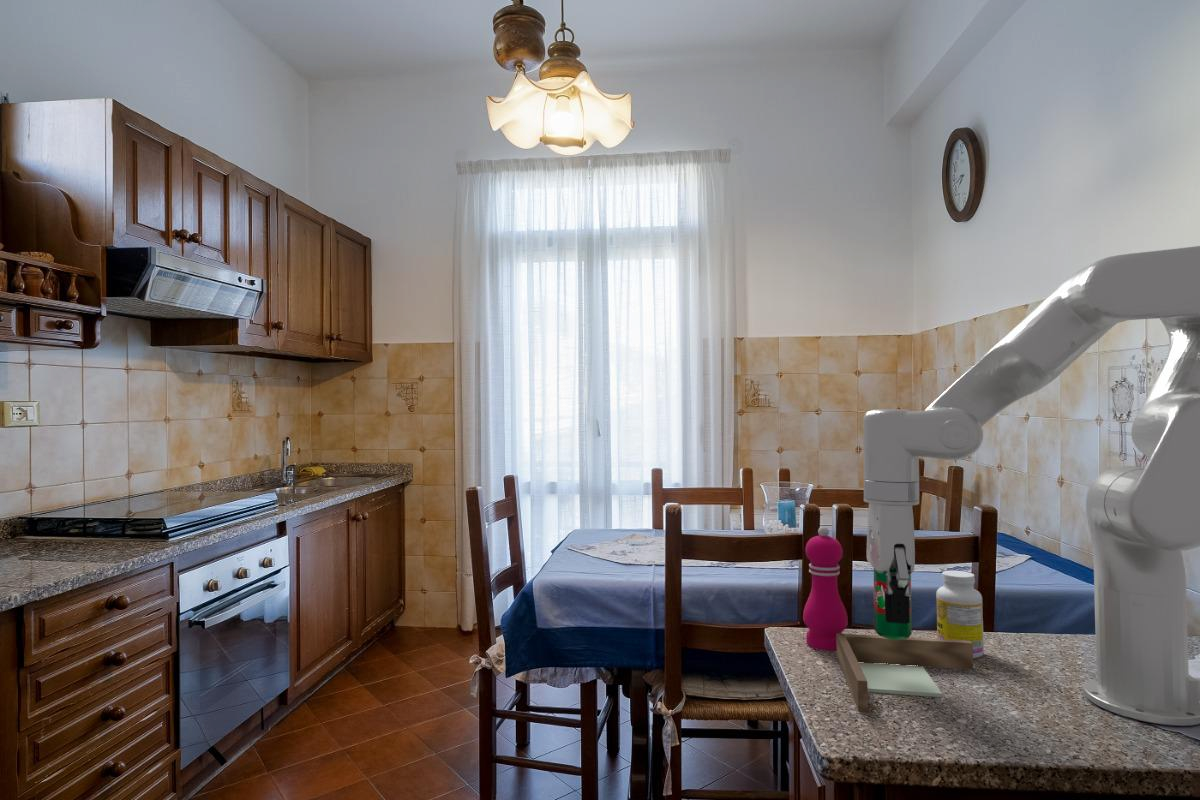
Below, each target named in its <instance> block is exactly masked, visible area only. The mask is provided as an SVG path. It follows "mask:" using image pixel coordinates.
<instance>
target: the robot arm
mask: <svg viewBox="0 0 1200 800" xmlns="http://www.w3.org/2000/svg"><path fill="white" fill-rule="evenodd" d="M1151 319H1155V320H1156V319H1159V320H1160V321H1161V323H1162V324H1163V326H1164V327H1165V329H1166V332H1167V335H1168V340H1169V347H1168V353H1167V354H1166V358H1165V360H1164V362H1163V364H1162V367H1161V369H1160V371H1159V373H1158V376H1157V377H1156V379H1155V381H1154V383H1153V384H1152V386H1151V388H1150V389H1149V391H1148V393H1147V395H1146V396H1145V399H1144V401H1143V403H1142V404H1141V406H1140V408H1139V410H1138V412H1137V413H1136V415H1135V417H1134V419H1133V422H1132V426H1131V429H1130V430H1131V433H1130V434H1131V440H1132V443H1133V444H1134V446H1135V447H1136V449H1137V450H1139V452H1140V453H1141V454H1142V455H1144V456H1146V457H1148V458H1149V459H1148V460H1147V463H1146V465H1145V467H1144V466H1137V465H1136V466H1135V465H1125V466H1118V467H1117V466H1116V467H1114V468H1113V467H1112V468H1109V469H1107V470H1106V471H1104V472H1102V473H1100V474H1099V475H1098V476H1097V477H1095V478H1094V480H1092V482H1091V483H1090V485H1089V487H1088V489H1087V493H1086V497H1085V512H1086V519H1087V523H1088V530H1089V535H1090V539H1091V541H1090V542H1091V546H1092V548H1091V549H1092V557H1093V559H1092V560H1093V580H1094V581H1093V595H1094V622H1095V623H1094V625H1095V654H1096V656H1095V657H1096V658H1095V660H1096V661H1095V663H1096V678H1093V679H1092V678H1091V679H1089V680H1087V681H1085V682H1084V684H1083V685H1082V687H1083V694H1084V697H1085V698H1086V699H1088V701H1090V702H1091V703H1093V704H1094V705H1095V706H1098V707H1100V708H1103V709H1104V710H1106V711H1109V712H1112V713H1113V714H1114V713H1115V714H1116V715H1119V716H1123V717H1126V718H1130V719H1134V720H1136V721H1143V722H1146V723H1151V724H1156V725H1157V724H1158V725H1165V726H1173V727H1175V726H1177V727H1178V726H1180V727H1181V726H1182V727H1185V726H1186V727H1187V726H1195V725H1196V726H1197V725H1200V677H1193V676H1191V675H1190V673H1189V672H1190V671H1189V669H1190V668H1189V645H1188V644H1189V643H1188V640H1189V639H1188V638H1189V637H1188V614H1187V613H1188V608H1187V577H1186V568H1185V567H1186V566H1185V562H1184V557H1183V553H1182V552H1183V551H1190V550H1193V549H1196V548H1199V547H1200V245H1196V246H1187V247H1179V248H1170V249H1162V250H1152V251H1150V250H1149V251H1144V252H1143V251H1141V252H1133V253H1127V254H1126V253H1125V254H1118V255H1113V256H1108V257H1104V258H1102V259H1099V260H1097V261H1095V262H1093V263H1091V264H1089V265H1088V266H1086V267H1083V268H1082V269H1079V270H1078V271H1076V272H1074V273H1073V274H1072V275H1071V276H1069V277H1067V279H1065V280H1063V282H1062V283H1060V284H1059V286H1057V287H1056V288H1055V289H1054V290H1053V291H1052V292H1051V293H1050V294H1048V296H1046V297H1045V298H1044V300H1042V301H1041V302H1040V303H1039V304H1038V305H1037V306H1036V307H1035V308H1034V309H1033V310H1032V311H1031V312H1030V313H1029V314H1028V315H1027V316H1025V318H1023V319H1022V320H1021V321H1020V322H1019V323H1018V324H1017V325H1016V326H1014V328H1012V329H1011V330H1010V331H1009V332H1008V333H1007V334H1006V335H1005V336H1004V337H1003V338H1002V339H1001V340H1000V341H999V342H997V343H996V344H995V345H993V347H992V348H991V349H990V350H988V352H986V353H985V354H984V355H983V356H982V357H981V358H980V359H979V360H978V361H977V362H976V363H975V364H974V365H973V366H971V368H969V369H968V370H967V371H966V372H965V373H964V374H963V375H961V376H960V377H959V378H958V379H957V380H955V382H954V383H952V384H951V385H950V386H949V387H948V388H946V390H945V391H943V393H941V394H940V395H939V397H937V398H936V399H935V400H934V401H933V402H931V404H930V405H929V406H928V407H927V408H925V409H924V410H910V409H906V408H903V409H899V408H898V409H897V408H893V409H892V408H891V409H890V408H889V409H888V408H886V409H885V408H883V409H878V408H877V409H870V410H868V411H866V413H865V414H864V416H863V421H862V438H863V440H862V441H863V442H862V445H863V449H862V450H863V453H862V454H863V457H862V458H863V502H864V503H867V504H868V510H867V533H866V560H867V562H868V563H869V564H870V566H871V567H872V569H873V570H874V569H875V570H876V571H877V572H878V573H883V571H885V572H886V586H887V593H885V620H886V622H888V623H904V624H908V623H909V622H910V610H909V584H908V581H909V575H910V574H911V575H912V574H913V573H914V571H915V565H916V564H915V563H916V561H915V559H916V558H915V557H916V555H915V554H916V548H915V525H914V524H915V523H914V520H915V519H914V512H913V506H917V505H920V460H919V459H920V457H921V458H930V459H937V460H942V461H943V460H944V461H959V460H963V459H966V458H968V457H970V456H973V455H974V453H976V452H977V451H978V449H979V448H980V447H981V445H982V443H983V439H984V429H983V426H985V425H986V424H987V423H988V422H989V421H991V420H992V419H993V418H994V417H995V416H996V415H997V414H999V413H1001V412H1002V411H1003V410H1005V409H1006V408H1007V407H1009V406H1011V405H1012V404H1013V403H1015V402H1017V401H1019V400H1021V399H1023V398H1025V397H1028V396H1029V395H1032V394H1034V393H1035V392H1036V393H1037V392H1038V391H1039V390H1041V389H1043V388H1045V387H1046V386H1047V385H1049V384H1050V383H1052V382H1053V381H1055V380H1056V378H1058V377H1059V376H1060V375H1061V374H1062V373H1063V372H1065V370H1066V369H1068V368H1069V367H1070V366H1071V365H1072V363H1074V362H1075V361H1076V360H1077V359H1078V358H1079V357H1081V356H1082V355H1083V354H1084V353H1085V352H1086V351H1087V350H1089V349H1090V347H1091V346H1093V345H1094V344H1095V343H1096V342H1098V341H1099V340H1100V339H1101V338H1102V337H1103V336H1105V334H1106V333H1107V332H1109V330H1111V329H1112V328H1113V327H1115V326H1116V325H1117V324H1119V323H1123V322H1127V321H1136V320H1138V321H1139V320H1151ZM907 562H908V565H909V567H907ZM890 568H896V572H890ZM891 577H896V579H893V581H892V579H891Z"/></svg>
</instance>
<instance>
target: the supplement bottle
mask: <svg viewBox="0 0 1200 800" xmlns="http://www.w3.org/2000/svg"><path fill="white" fill-rule="evenodd" d="M941 574H942V575H941V577H942V578H941V579H942V581H943V586H940V587H939V588H938V589H937V590H936V593H935V594H936V595H935V597H936V598H935V599H936V628H937V629H936V631H937V633H936V634H937V636H936V637H937V638H936V639H950V640H968V641H971V642H972V643H973V659H977V658H980V657H982V656H983V655H984V653H985V652H984V651H985V650H984V620H983V619H984V618H983V614H984V613H983V596H982V594H981V592H980V591H978V590H977V589H975V587H974V585H975V583H976V580H975V579H976V578H975V574H974V573H971V572H969V571H963V570H944V571H942V573H941Z"/></svg>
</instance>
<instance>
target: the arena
mask: <svg viewBox="0 0 1200 800" xmlns="http://www.w3.org/2000/svg"><path fill="white" fill-rule="evenodd" d="M836 642H837V651H836V660H837V663H838V662H839V663H838V665H839V667H841V668H840V670H841V673H842V675H843V674H844V675H843V677H844V679H846V680H845V683H846V684H848V685H847V687H848V690H849V689H850V690H849V692H850V694H852V695H851V697H852V699H853V702H854V704H855V706H856V710H857V711H858V712H863V713H865V712H866V713H868V712H869V702H868V700H869V698H868V696H869V695H868V693H869V692H868V690H867V680H866V677H865V675H864V673H863V671H862V669H861V667H860V665H859V663H858V662H864V663H886V664H887V663H888V664H900V665H916V666H917V665H918V666H931V667H930V668H938V667H940V668H941V669H954V668H955V669H956V670H958V669H959V670H970V669H972V670H974V658H973V643H972V642H971V641H968V640H950V639H937V638H927V637H914V636H913V637H911V636H909V637H908V638H907V639H903V640H895V639H888V638H884V637H882V636H880V635H873V634H857V633H856V634H855V633H853V634H851V633H842V634H839V633H836ZM955 669H954V670H955Z"/></svg>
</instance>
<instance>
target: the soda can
mask: <svg viewBox="0 0 1200 800" xmlns="http://www.w3.org/2000/svg"><path fill="white" fill-rule="evenodd" d="M907 567H909V565H908V562H907ZM890 572H896V568H890ZM891 579H892V581H893V579H896V577H891ZM908 584H909V610H910V622H909V623H908V624H904V623H888V622H886V620H885V593H887V586H886V572H885V571H883V573H878V572H877V571H876V570H875V569H874V568H873V629H874V631H875V633H876V634H877V636H882V637H884V638H888V639H895V640H903V639H907V638H908V637H911V635H912V633H913V629H912V626H913V625H912V620H913V619H912V574H910V575H909V581H908Z"/></svg>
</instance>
